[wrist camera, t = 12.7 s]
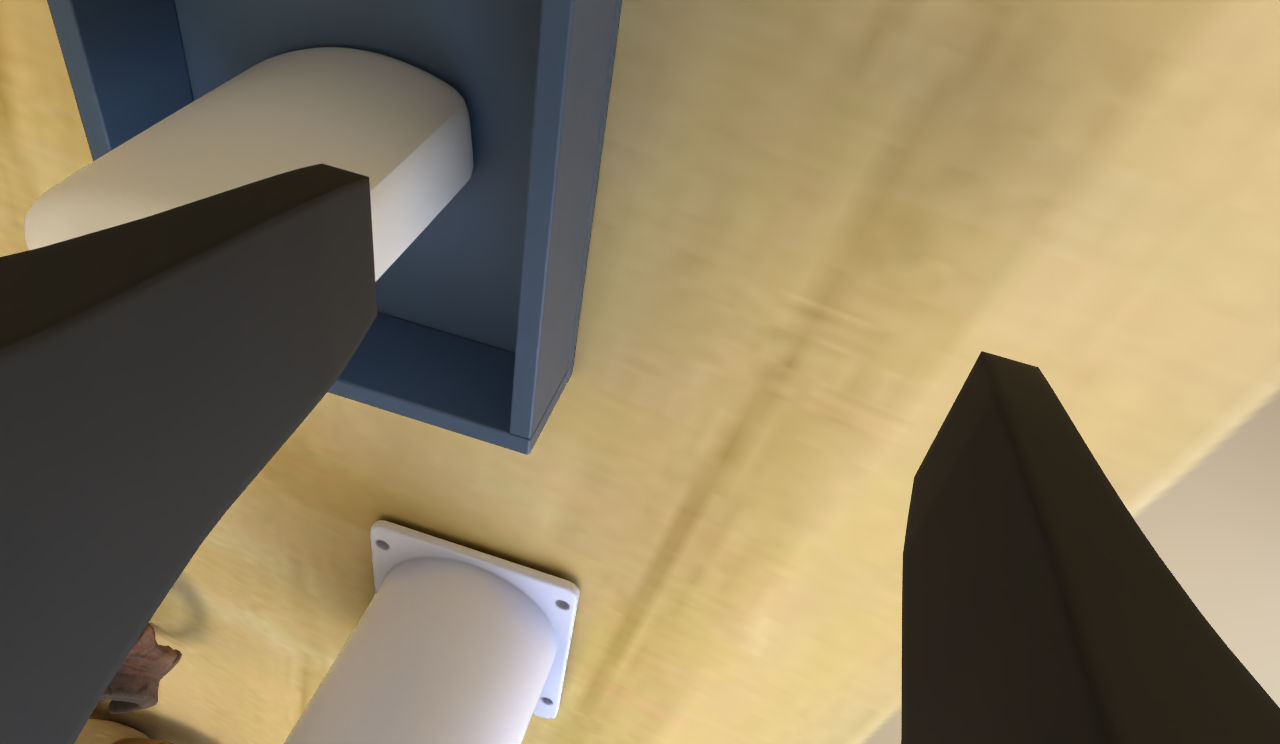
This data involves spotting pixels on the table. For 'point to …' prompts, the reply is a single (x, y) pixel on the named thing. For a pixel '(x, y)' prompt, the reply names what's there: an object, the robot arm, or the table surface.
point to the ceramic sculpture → (112, 734)
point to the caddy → (466, 227)
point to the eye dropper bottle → (284, 147)
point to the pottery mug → (140, 674)
